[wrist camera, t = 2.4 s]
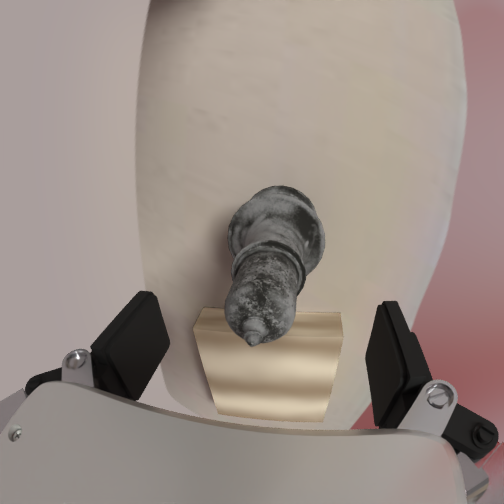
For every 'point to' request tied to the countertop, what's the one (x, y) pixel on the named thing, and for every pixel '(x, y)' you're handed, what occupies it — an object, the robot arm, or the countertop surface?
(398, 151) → the countertop surface
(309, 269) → the weathered stone finial
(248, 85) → the countertop surface
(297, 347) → the birch base block
